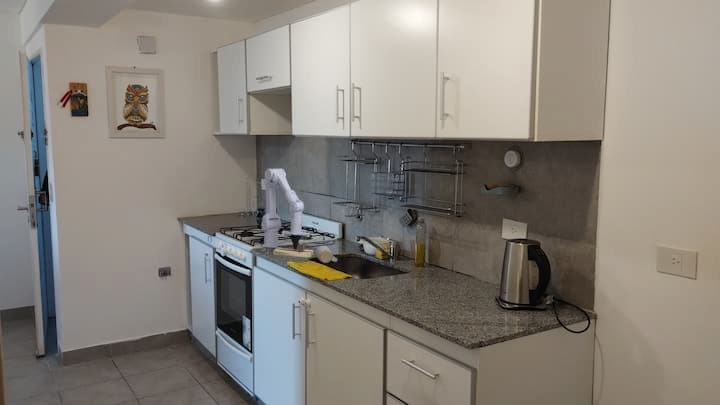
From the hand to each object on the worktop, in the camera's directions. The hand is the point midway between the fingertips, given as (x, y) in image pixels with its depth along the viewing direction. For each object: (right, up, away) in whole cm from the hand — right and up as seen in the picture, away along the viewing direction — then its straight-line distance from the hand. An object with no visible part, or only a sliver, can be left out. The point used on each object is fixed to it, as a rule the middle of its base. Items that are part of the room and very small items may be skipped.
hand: (295, 249), depth 310 cm
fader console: (-1, -3, +1) cm, 3 cm away
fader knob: (+3, -1, 0) cm, 3 cm away
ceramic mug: (+17, -6, -10) cm, 21 cm away
